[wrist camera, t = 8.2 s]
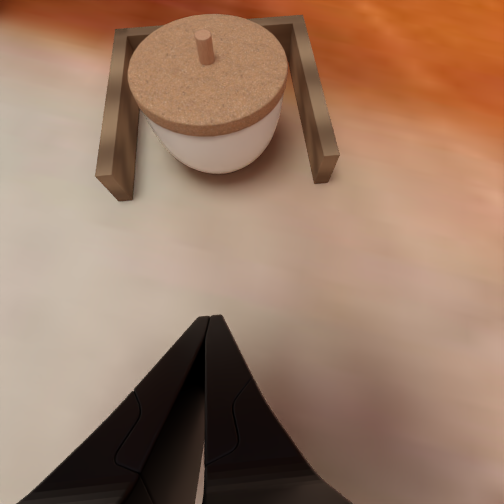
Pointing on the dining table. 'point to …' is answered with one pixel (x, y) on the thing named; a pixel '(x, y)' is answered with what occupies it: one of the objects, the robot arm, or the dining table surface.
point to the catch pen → (127, 110)
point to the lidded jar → (210, 89)
